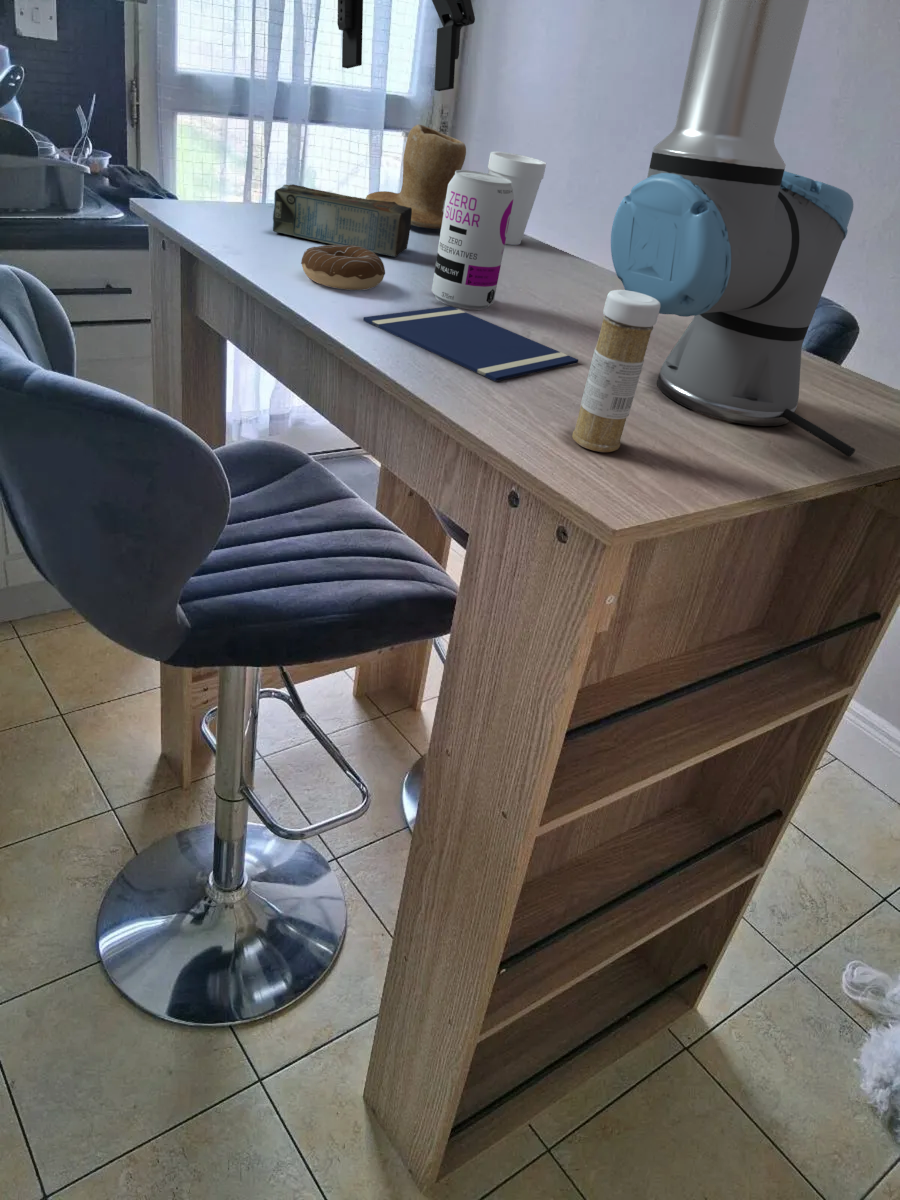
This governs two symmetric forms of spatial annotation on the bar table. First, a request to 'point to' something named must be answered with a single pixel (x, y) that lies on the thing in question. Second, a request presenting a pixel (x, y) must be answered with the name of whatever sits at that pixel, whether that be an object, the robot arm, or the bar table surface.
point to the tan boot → (426, 175)
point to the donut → (343, 267)
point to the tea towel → (472, 342)
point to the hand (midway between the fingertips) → (399, 78)
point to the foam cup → (518, 187)
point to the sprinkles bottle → (615, 369)
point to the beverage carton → (342, 219)
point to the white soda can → (472, 239)
